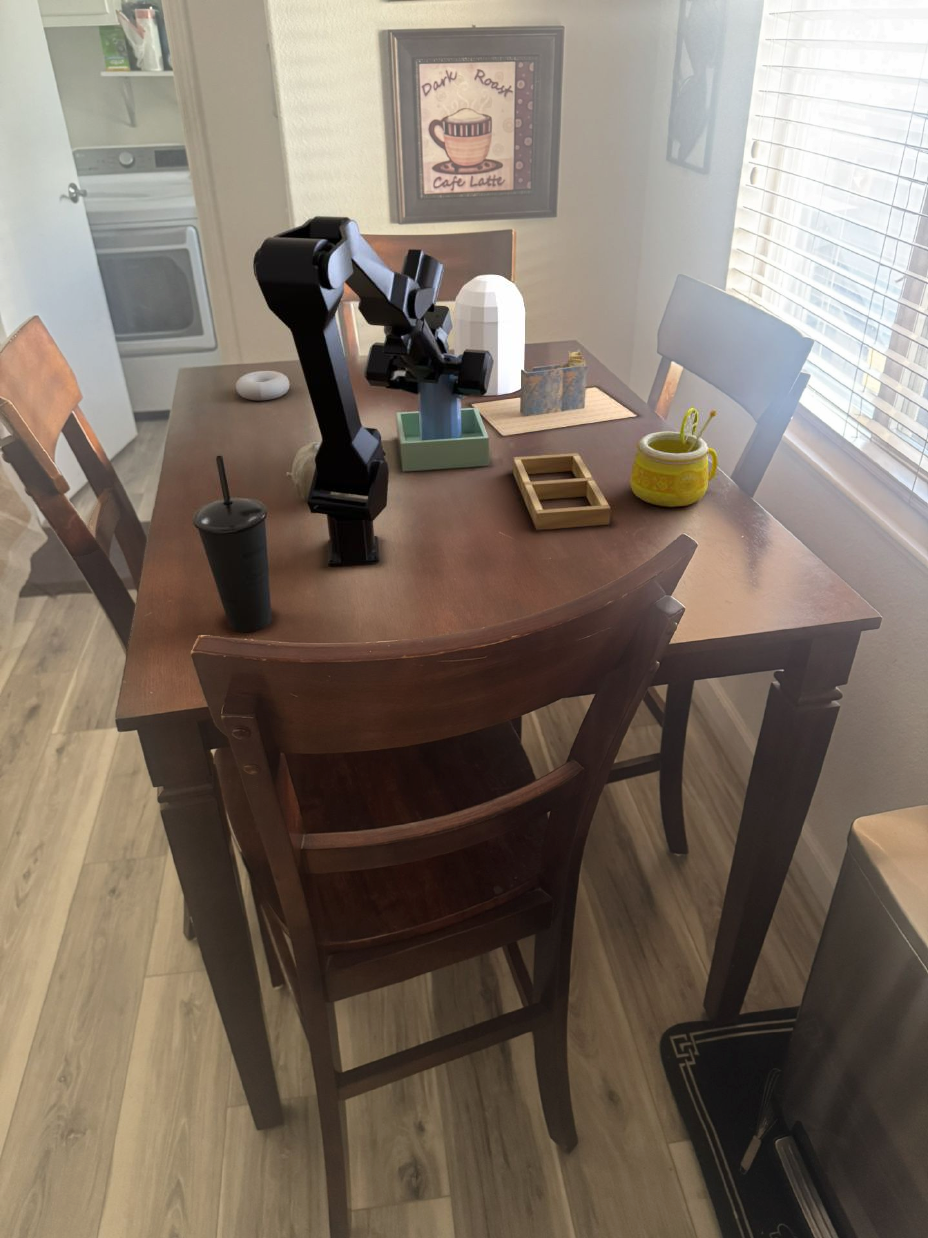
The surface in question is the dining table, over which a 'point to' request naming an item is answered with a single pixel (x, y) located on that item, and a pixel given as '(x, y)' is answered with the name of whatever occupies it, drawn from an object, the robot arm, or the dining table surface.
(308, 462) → the garlic bulb
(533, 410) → the architectural model on board
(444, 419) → the tumbler
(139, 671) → the dining table surface
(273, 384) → the donut
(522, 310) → the container
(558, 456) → the wooden rectangular frame
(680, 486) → the mug
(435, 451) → the basin
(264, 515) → the drinking cup
